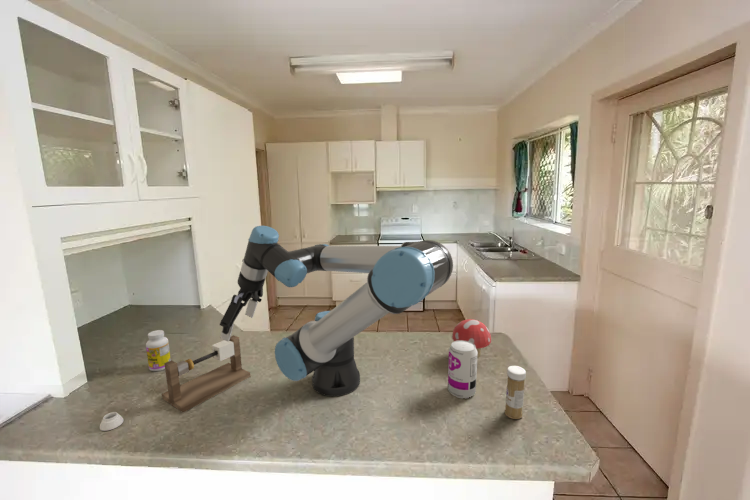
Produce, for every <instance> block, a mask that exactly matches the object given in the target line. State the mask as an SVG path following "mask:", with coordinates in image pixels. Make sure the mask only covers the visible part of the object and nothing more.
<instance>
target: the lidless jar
mask: <svg viewBox="0 0 750 500" xmlns="http://www.w3.org/2000/svg"><path fill="white" fill-rule="evenodd" d="M123 423H124V418H123V416H122V415H120V414H119V413H118V412H116V411H112V412H109V413H106V414H105V415H104V416H103V417H102V420H101V422H100V425H99V430H100V431H101V432H102V431H105V432H107V431H110V430H113V429H116V428H118V427H119V426H121V425H122V424H123Z"/></svg>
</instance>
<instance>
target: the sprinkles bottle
mask: <svg viewBox="0 0 750 500" xmlns="http://www.w3.org/2000/svg"><path fill="white" fill-rule="evenodd" d="M506 374H507V375H506V377H507V382H506V383H507V384H506V393H505V409H504V414H505V416H506V417H508V418H510V419H512V420H520V419H521V418H522V417H523V406H524V397H525V380H526V378H527V377H526V376H527V375H526V374H527V371H526V370H525V368H523V367H521V366H519V365H510V366H508V367H507V372H506Z"/></svg>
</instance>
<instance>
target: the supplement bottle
mask: <svg viewBox="0 0 750 500" xmlns="http://www.w3.org/2000/svg"><path fill="white" fill-rule="evenodd" d="M147 338H148V340H147V341H146V343H145V348H146V355H147V356H146V357H147V363H148V364H147V365H148V369H149V371H151V372H160V371H165V364H164V363H166V362H169V361H171V360H172V359H171V352H170V344H169V343H170V342H169V339H168V338H167V336H165V331H164V329H163V330H162V329H158V330H157V329H156V330H152V331H150V332H148V334H147Z"/></svg>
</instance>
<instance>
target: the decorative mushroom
mask: <svg viewBox="0 0 750 500" xmlns="http://www.w3.org/2000/svg"><path fill="white" fill-rule="evenodd" d="M451 339H452V340H453V342H454V341H459V340H463V341H468V342H471V343H473V344H474V345H475V347H476V349H477V352H478V355H477V360H478V359H479V358H480V357H481V356H482V355H481V353H482V351H481V349H484V348H487V347H488V346H489V345H491V343H492V336H491V332H490V330H489V328H488V327H487V326H486V325H485V323H483V322H482V321H480V320H479V319H478V320H477V319H473V318H470V319H469V318H467V319H464V320H461V321H460V322H458V323H457V324H456V325H455V326H454V328H453V331H452V335H451Z"/></svg>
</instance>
